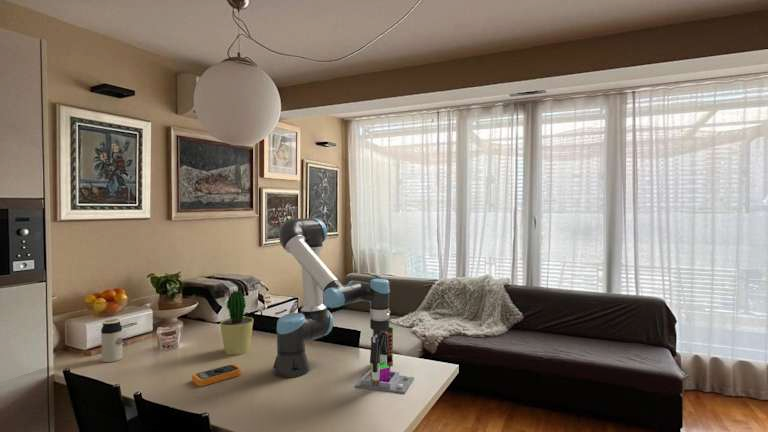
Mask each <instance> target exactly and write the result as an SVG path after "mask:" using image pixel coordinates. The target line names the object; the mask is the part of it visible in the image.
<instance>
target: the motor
mask: <svg viewBox="0 0 768 432" xmlns="http://www.w3.org/2000/svg"><path fill="white" fill-rule="evenodd" d="M374 332H375V331H374V330H372V336H373V335H374ZM393 338H394V327H392V326H389V329H388V346H389V351H387V352H389V355H387V354H386V355H387V365H388V366H389V367H390V368H392V367H393V365H394V359H393V358H394V357H393V356H394V355H393V354H394V353H393V351H394V350H393V349H394V339H393ZM380 354H381V351H380ZM379 363H380V355H379ZM391 366H392V367H391Z"/></svg>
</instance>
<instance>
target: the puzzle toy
mask: <svg viewBox="0 0 768 432" xmlns="http://www.w3.org/2000/svg"><path fill="white" fill-rule="evenodd" d="M370 369H371V380H372V364H370ZM390 371H391V367H389V366H388V365H386V364H385V363H379V381H378V380H372V381H374V382H375V383H376V384H379V382H380V381H381V382H389V381H390Z"/></svg>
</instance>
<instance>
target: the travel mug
mask: <svg viewBox="0 0 768 432" xmlns="http://www.w3.org/2000/svg"><path fill="white" fill-rule="evenodd" d="M121 321H122V319H121V318H110V319H106V320H103V321H101V324H102V327H101V330H100V331H101V333H100V335H101V361H102V362H104V363H113V362H117V361H119V360H122V359H123V326H122V324H121Z"/></svg>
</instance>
